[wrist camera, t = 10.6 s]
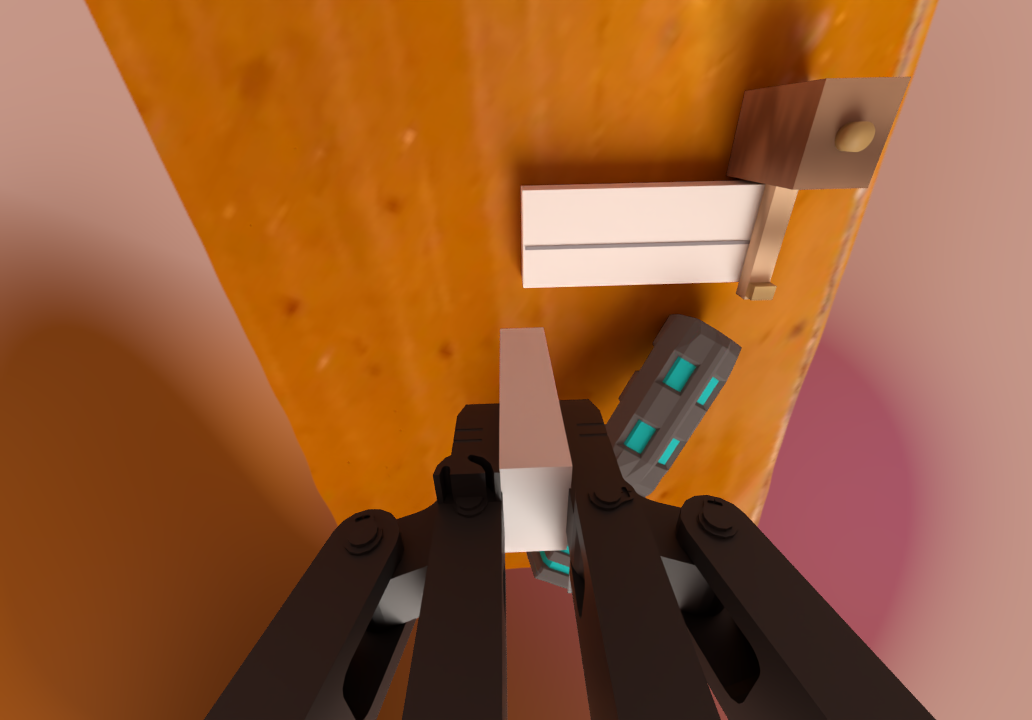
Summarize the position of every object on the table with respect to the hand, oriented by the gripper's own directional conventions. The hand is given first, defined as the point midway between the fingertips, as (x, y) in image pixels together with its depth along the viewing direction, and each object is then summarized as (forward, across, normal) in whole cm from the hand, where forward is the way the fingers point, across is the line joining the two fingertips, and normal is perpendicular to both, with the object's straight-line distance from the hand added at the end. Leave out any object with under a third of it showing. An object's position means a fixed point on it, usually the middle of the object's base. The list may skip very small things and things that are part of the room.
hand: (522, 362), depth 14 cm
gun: (+25, +10, -22) cm, 35 cm away
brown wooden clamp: (+24, +21, +2) cm, 32 cm away
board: (+24, +12, -1) cm, 27 cm away
